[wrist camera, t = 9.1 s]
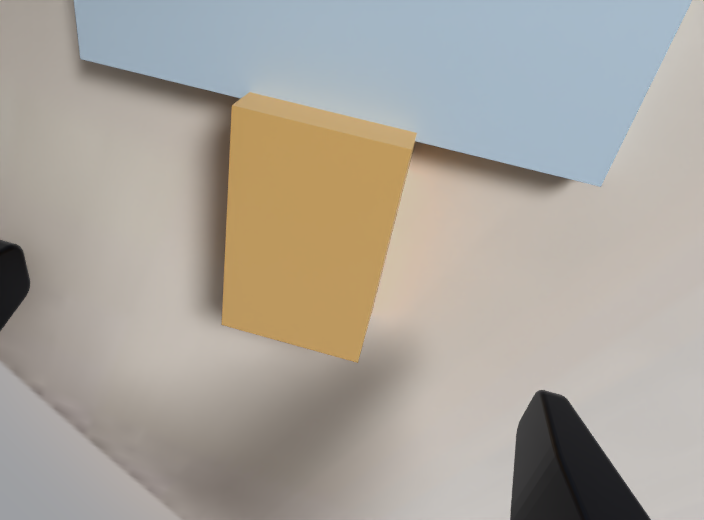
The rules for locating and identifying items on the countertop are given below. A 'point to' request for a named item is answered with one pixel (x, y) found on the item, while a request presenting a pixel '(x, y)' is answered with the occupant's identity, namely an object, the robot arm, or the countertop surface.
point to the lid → (377, 120)
